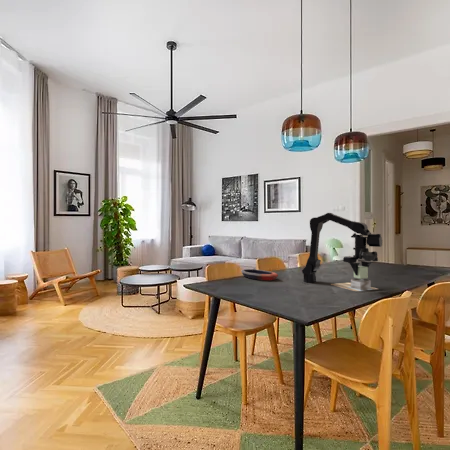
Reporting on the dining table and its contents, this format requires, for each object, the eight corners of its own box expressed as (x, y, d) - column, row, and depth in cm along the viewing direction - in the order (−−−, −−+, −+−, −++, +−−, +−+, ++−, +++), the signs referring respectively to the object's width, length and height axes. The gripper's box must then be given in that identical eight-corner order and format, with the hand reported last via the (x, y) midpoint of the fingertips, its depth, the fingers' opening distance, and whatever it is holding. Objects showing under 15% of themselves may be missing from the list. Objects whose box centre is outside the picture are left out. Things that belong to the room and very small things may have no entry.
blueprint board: (355, 293, 164) (355, 282, 164) (329, 285, 183) (329, 276, 183) (379, 290, 169) (379, 280, 169) (352, 283, 189) (352, 274, 189)
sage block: (360, 278, 168) (360, 267, 168) (353, 277, 173) (353, 266, 173) (367, 278, 170) (367, 266, 170) (360, 276, 175) (360, 265, 175)
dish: (252, 274, 227) (252, 267, 227) (284, 280, 203) (284, 272, 202) (235, 276, 218) (235, 269, 218) (267, 283, 193) (267, 275, 193)
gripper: (357, 247, 160) (357, 278, 161) (386, 246, 167) (386, 276, 167) (342, 246, 171) (342, 275, 171) (369, 245, 177) (369, 273, 177)
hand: (360, 274), depth 171 cm, fingers closed on sage block, 5 cm apart
